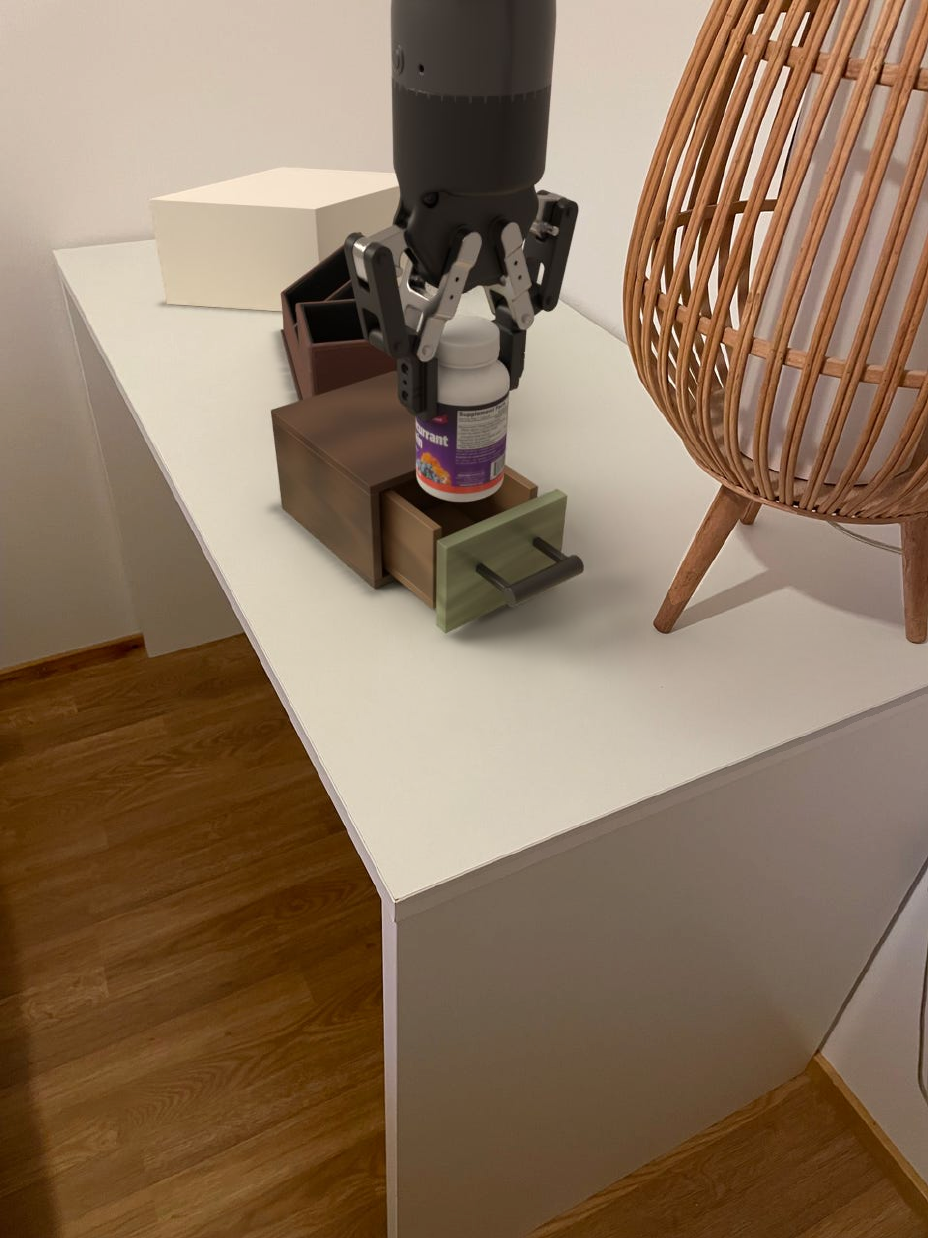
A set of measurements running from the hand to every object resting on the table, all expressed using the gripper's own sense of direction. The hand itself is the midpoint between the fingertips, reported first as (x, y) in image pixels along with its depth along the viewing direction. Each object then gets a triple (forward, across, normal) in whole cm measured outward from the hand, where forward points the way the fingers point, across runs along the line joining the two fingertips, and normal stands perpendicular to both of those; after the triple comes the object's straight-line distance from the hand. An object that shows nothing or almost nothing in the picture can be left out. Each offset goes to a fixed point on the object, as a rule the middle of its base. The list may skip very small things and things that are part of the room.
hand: (462, 398), depth 56 cm
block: (+22, +30, +68) cm, 78 cm away
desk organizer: (+22, +19, +43) cm, 52 cm away
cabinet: (+22, +7, +19) cm, 30 cm away
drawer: (+21, +7, +7) cm, 23 cm away
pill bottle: (+6, 0, 0) cm, 6 cm away
